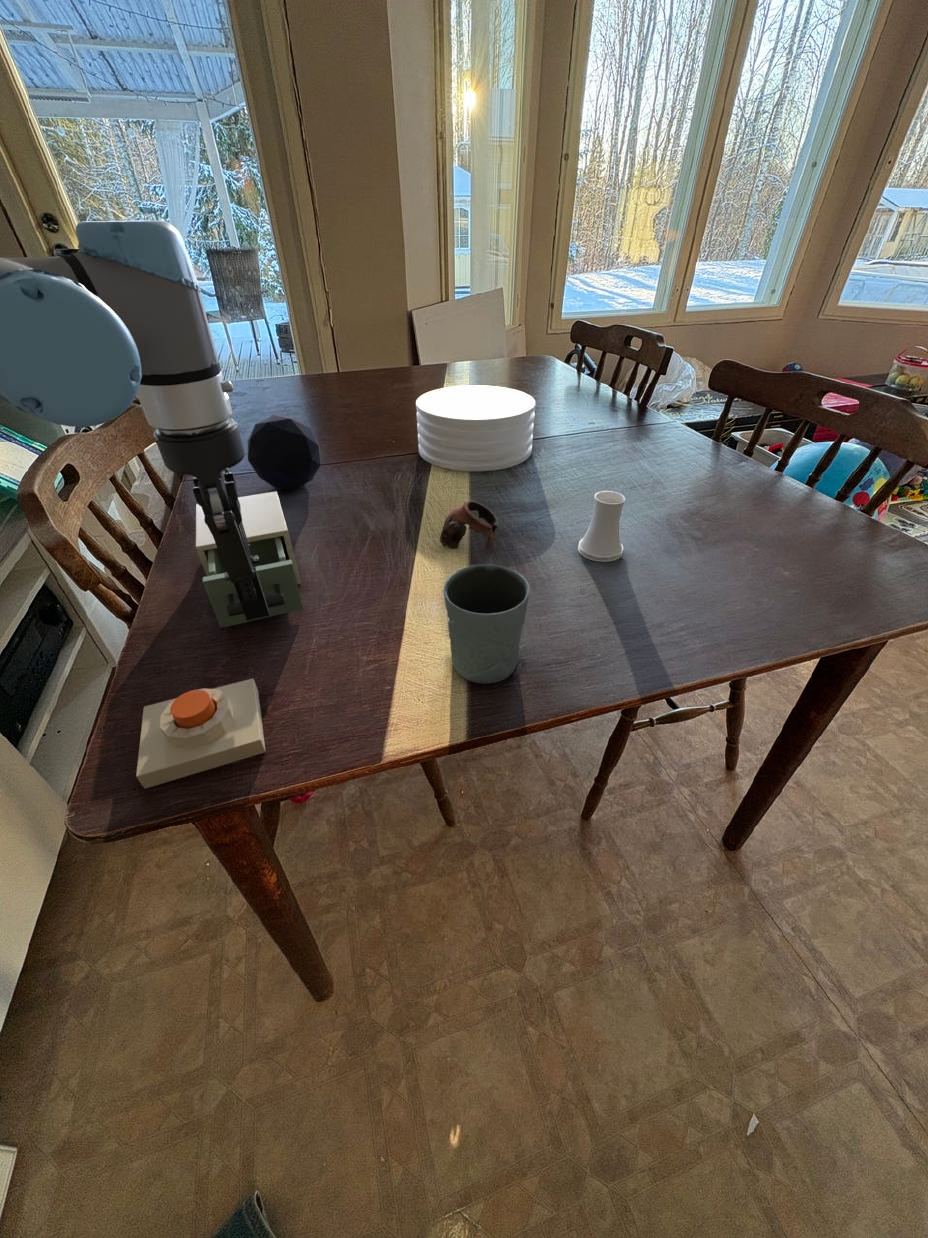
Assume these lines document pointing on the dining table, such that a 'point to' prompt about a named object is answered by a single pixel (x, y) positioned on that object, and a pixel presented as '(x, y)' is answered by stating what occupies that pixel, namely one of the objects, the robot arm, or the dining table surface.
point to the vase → (604, 529)
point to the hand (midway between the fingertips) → (257, 614)
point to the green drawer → (273, 580)
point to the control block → (200, 736)
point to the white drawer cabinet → (250, 526)
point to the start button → (193, 709)
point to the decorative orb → (283, 452)
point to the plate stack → (475, 427)
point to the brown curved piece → (461, 516)
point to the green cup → (485, 620)
